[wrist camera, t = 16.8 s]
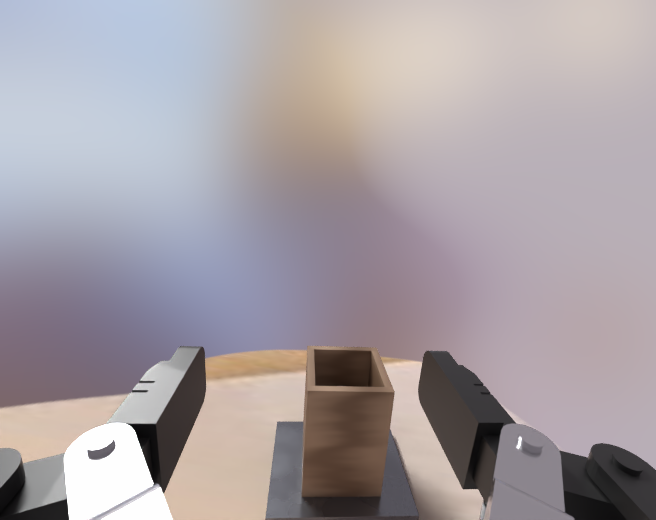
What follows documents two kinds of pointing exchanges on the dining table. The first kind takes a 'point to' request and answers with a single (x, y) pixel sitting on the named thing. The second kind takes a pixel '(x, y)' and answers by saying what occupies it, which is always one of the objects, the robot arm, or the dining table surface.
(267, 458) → the dining table surface
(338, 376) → the walnut sleeve
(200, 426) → the dining table surface
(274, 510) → the post plate
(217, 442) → the dining table surface
